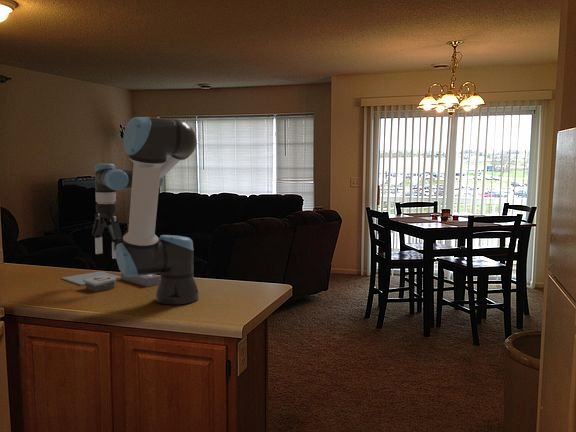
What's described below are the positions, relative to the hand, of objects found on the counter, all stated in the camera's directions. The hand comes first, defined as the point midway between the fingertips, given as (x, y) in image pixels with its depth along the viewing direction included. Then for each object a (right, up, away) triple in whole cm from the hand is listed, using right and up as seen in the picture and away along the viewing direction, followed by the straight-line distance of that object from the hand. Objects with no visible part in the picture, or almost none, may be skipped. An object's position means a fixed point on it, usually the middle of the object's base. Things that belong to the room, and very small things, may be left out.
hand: (107, 256), depth 201 cm
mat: (-12, -11, +14) cm, 22 cm away
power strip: (+10, -12, +9) cm, 18 cm away
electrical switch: (0, -13, +1) cm, 13 cm away
